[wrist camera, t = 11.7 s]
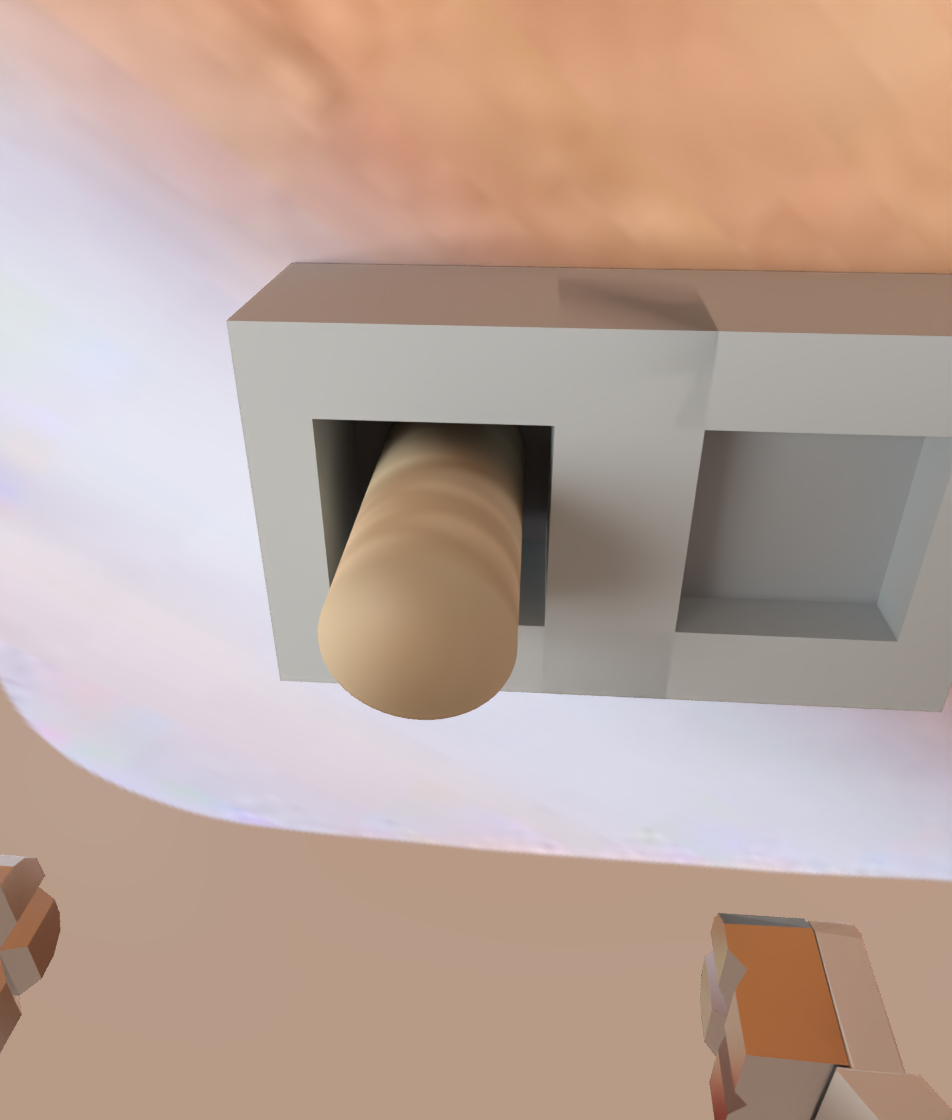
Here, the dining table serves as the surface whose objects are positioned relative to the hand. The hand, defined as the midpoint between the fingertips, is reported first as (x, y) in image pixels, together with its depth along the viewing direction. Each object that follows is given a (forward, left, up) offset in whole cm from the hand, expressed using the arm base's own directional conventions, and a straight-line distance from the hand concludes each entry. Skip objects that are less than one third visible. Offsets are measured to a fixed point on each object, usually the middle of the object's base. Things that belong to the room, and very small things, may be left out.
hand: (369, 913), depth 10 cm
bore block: (-4, 0, -15) cm, 15 cm away
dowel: (0, 0, -14) cm, 14 cm away
